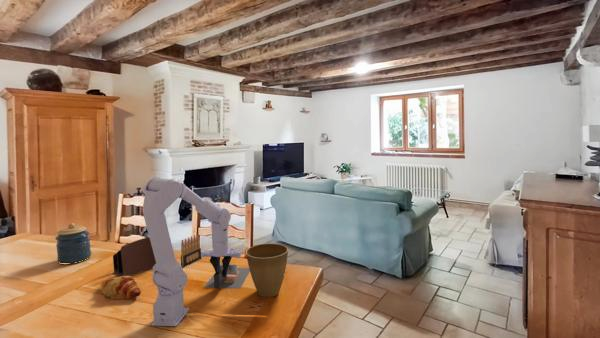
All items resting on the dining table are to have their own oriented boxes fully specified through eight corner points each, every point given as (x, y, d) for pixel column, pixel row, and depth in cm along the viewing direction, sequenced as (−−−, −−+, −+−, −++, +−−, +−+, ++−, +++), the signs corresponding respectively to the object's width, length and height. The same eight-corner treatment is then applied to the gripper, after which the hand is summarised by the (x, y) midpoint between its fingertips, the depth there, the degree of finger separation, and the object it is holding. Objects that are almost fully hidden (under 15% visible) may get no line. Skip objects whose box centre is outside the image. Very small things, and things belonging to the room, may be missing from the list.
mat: (240, 289, 117) (240, 288, 117) (203, 288, 119) (203, 287, 119) (251, 269, 135) (251, 267, 135) (219, 268, 136) (219, 267, 136)
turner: (228, 288, 113) (227, 274, 112) (206, 287, 113) (205, 274, 113) (237, 273, 124) (236, 261, 124) (217, 273, 125) (216, 261, 125)
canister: (96, 257, 152) (93, 221, 150) (65, 267, 141) (61, 228, 139) (83, 252, 158) (80, 218, 156) (52, 261, 148) (48, 224, 146)
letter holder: (170, 262, 144) (168, 232, 142) (123, 278, 129) (120, 245, 127) (159, 257, 150) (157, 228, 149) (113, 272, 135) (110, 240, 134)
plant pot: (296, 288, 118) (295, 246, 116) (273, 307, 105) (272, 261, 103) (264, 279, 125) (263, 240, 123) (238, 296, 112) (237, 253, 111)
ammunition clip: (184, 267, 139) (182, 240, 137) (180, 266, 139) (179, 240, 138) (201, 258, 148) (200, 233, 147) (198, 257, 149) (197, 233, 148)
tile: (234, 279, 122) (239, 271, 129) (216, 278, 122) (222, 270, 129) (234, 282, 122) (239, 274, 129) (216, 282, 123) (222, 274, 129)
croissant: (96, 299, 119) (84, 286, 115) (118, 278, 127) (107, 264, 123) (134, 311, 110) (122, 297, 106) (155, 287, 117) (144, 273, 113)
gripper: (242, 236, 120) (243, 271, 122) (205, 236, 121) (207, 270, 123) (237, 243, 113) (238, 279, 115) (197, 242, 115) (199, 278, 116)
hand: (222, 275), depth 118 cm, fingers closed on turner
